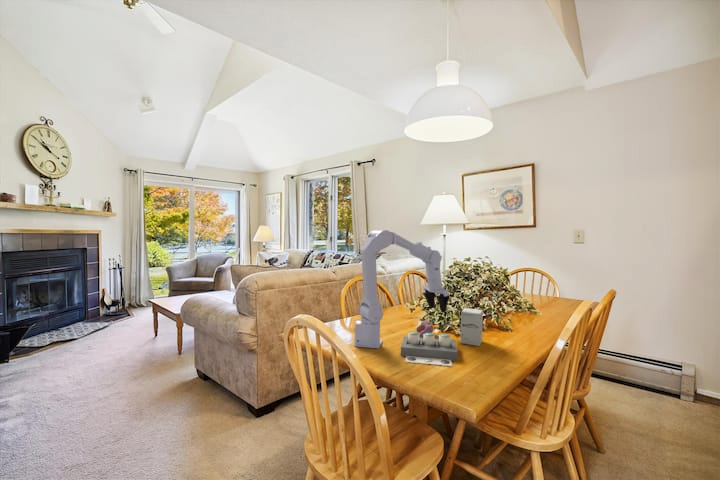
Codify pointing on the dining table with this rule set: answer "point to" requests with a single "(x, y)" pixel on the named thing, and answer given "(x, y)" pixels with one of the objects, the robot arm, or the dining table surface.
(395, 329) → the dining table surface
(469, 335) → the supplement box
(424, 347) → the button board
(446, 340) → the button right
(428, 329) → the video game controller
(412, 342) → the button left
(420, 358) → the card
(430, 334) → the button middle
